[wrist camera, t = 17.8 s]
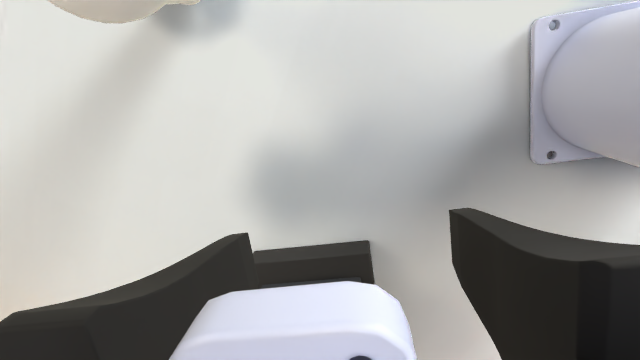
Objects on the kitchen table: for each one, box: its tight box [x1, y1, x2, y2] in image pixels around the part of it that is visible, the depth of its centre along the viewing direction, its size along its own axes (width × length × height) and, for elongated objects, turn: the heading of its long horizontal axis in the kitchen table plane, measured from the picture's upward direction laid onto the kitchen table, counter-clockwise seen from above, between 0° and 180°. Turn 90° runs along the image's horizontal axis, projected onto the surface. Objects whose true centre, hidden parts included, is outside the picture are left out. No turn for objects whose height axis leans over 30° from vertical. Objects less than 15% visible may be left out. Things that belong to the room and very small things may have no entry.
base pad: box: [253, 241, 375, 289], centre depth 25 cm, size 8×8×2 cm
